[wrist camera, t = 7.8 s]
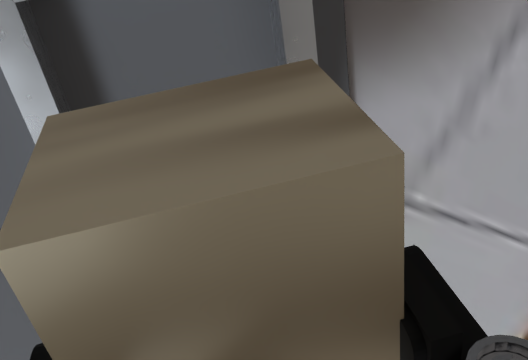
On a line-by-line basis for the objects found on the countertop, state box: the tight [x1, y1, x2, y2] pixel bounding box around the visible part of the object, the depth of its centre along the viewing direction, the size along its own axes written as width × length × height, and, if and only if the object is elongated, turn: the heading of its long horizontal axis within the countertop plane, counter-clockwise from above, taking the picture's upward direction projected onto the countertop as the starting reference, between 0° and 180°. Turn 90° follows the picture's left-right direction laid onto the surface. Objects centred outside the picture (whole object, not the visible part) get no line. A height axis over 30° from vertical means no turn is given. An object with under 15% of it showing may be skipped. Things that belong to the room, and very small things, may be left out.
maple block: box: [0, 59, 404, 360], centre depth 10 cm, size 9×5×4 cm, turn 9°
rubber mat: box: [0, 0, 349, 360], centre depth 19 cm, size 23×24×1 cm
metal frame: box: [0, 0, 318, 145], centre depth 17 cm, size 9×13×2 cm
